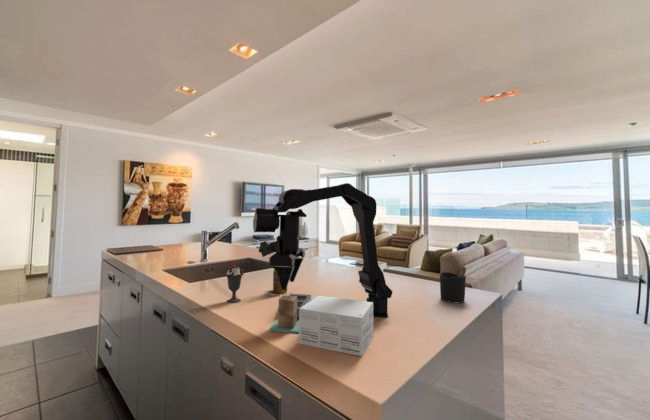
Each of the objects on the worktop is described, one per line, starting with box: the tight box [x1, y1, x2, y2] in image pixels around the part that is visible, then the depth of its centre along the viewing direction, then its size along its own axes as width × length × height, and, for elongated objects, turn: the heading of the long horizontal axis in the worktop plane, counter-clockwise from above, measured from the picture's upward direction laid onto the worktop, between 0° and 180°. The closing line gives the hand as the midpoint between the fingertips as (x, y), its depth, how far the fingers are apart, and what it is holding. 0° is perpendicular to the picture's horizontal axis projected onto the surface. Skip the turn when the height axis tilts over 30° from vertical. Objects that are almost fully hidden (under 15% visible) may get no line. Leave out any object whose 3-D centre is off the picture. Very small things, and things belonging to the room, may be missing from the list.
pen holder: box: [439, 271, 467, 303], centre depth 110 cm, size 9×9×10 cm
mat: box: [268, 319, 299, 334], centre depth 81 cm, size 9×7×1 cm
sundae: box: [224, 260, 245, 304], centre depth 104 cm, size 7×7×15 cm
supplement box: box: [298, 295, 374, 357], centre depth 74 cm, size 17×13×9 cm
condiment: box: [265, 269, 291, 297], centre depth 116 cm, size 7×8×12 cm
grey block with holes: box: [277, 293, 312, 320], centre depth 96 cm, size 8×16×3 cm, turn 173°
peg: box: [277, 294, 298, 329], centre depth 81 cm, size 4×4×8 cm
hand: (288, 285), depth 81 cm, fingers open, 9 cm apart
